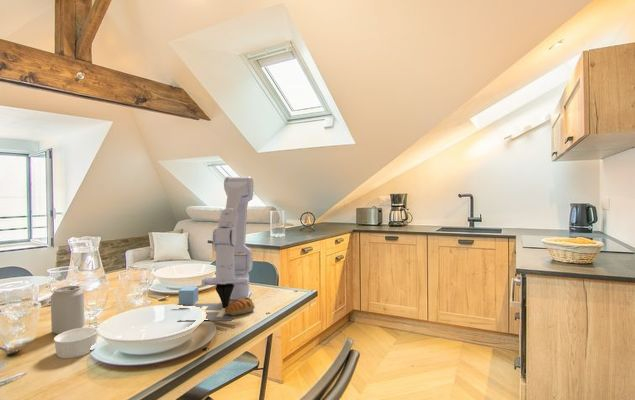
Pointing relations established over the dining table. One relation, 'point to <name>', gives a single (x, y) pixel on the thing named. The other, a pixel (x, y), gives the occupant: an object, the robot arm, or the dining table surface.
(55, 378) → the dining table surface
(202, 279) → the robot arm
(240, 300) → the pastry
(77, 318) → the can
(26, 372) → the dining table surface
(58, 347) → the ramekin
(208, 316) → the board
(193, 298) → the blue cube
